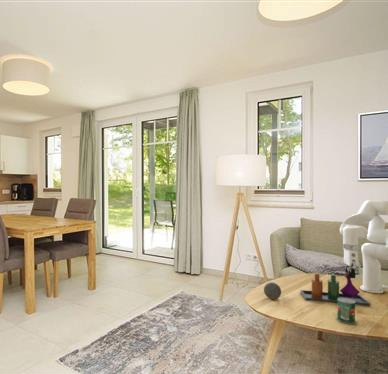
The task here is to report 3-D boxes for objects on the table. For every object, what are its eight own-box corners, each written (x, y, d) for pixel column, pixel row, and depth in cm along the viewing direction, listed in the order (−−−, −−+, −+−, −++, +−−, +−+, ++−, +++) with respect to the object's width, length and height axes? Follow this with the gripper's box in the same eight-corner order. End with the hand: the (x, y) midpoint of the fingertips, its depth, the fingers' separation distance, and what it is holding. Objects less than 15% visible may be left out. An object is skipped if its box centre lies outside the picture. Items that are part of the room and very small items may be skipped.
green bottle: (337, 297, 190) (337, 273, 189) (340, 301, 184) (340, 276, 184) (326, 296, 191) (326, 273, 191) (329, 300, 186) (329, 275, 185)
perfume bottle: (352, 299, 181) (352, 269, 180) (339, 295, 187) (339, 266, 187) (359, 297, 184) (359, 268, 184) (346, 293, 191) (346, 265, 190)
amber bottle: (320, 296, 192) (321, 272, 192) (323, 299, 186) (323, 275, 186) (310, 295, 194) (310, 271, 194) (312, 298, 188) (313, 274, 188)
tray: (360, 298, 189) (360, 295, 189) (369, 307, 176) (370, 303, 176) (300, 293, 199) (300, 290, 199) (305, 301, 186) (305, 297, 186)
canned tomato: (334, 316, 165) (335, 296, 164) (351, 318, 162) (351, 298, 162) (340, 323, 157) (340, 302, 157) (357, 325, 155) (357, 303, 154)
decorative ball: (265, 294, 197) (265, 279, 197) (281, 297, 192) (282, 281, 192) (262, 299, 188) (262, 283, 188) (280, 303, 183) (280, 286, 183)
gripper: (363, 250, 175) (363, 281, 176) (352, 244, 191) (351, 272, 192) (348, 249, 177) (348, 280, 178) (338, 243, 194) (338, 272, 194)
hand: (350, 276), depth 185 cm, fingers closed on perfume bottle, 4 cm apart
